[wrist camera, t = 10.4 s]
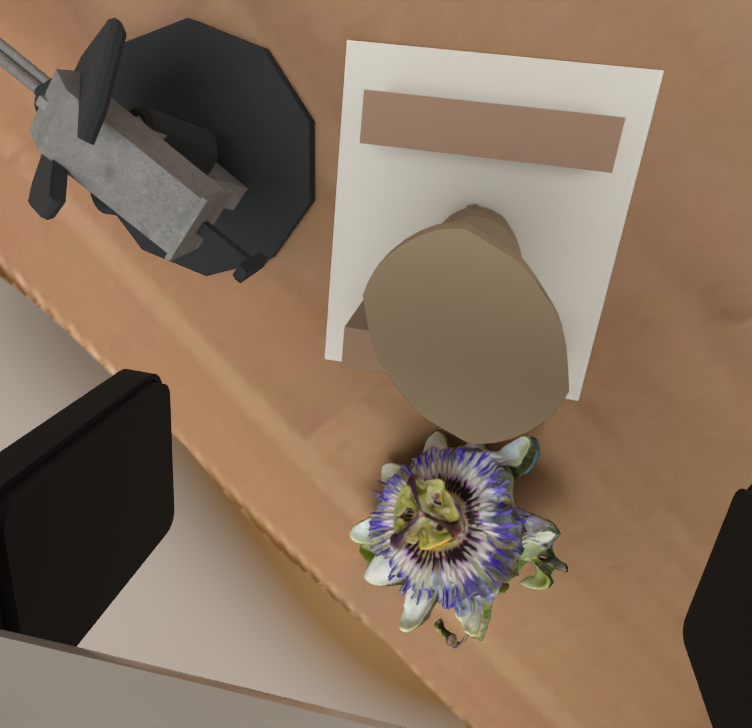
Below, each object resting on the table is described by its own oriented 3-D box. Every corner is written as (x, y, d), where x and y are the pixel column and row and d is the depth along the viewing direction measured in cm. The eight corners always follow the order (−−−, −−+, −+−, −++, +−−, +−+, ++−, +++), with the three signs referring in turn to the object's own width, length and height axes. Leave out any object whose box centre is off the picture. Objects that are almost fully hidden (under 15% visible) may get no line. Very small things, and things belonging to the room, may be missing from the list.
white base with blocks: (575, 391, 34) (591, 448, 28) (330, 351, 36) (298, 396, 30) (657, 72, 28) (698, 63, 22) (352, 42, 29) (317, 27, 24)
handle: (469, 313, 32) (455, 468, 18) (399, 209, 31) (328, 294, 17) (552, 263, 30) (605, 392, 17) (482, 150, 29) (479, 192, 15)
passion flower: (446, 404, 42) (521, 391, 30) (539, 533, 42) (649, 571, 30) (311, 507, 39) (335, 538, 28) (410, 645, 39) (476, 733, 28)
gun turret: (48, -139, 29) (-259, -306, 17) (379, 144, 31) (307, 168, 19) (-41, 94, 34) (-324, 88, 22) (248, 323, 36) (128, 427, 24)
